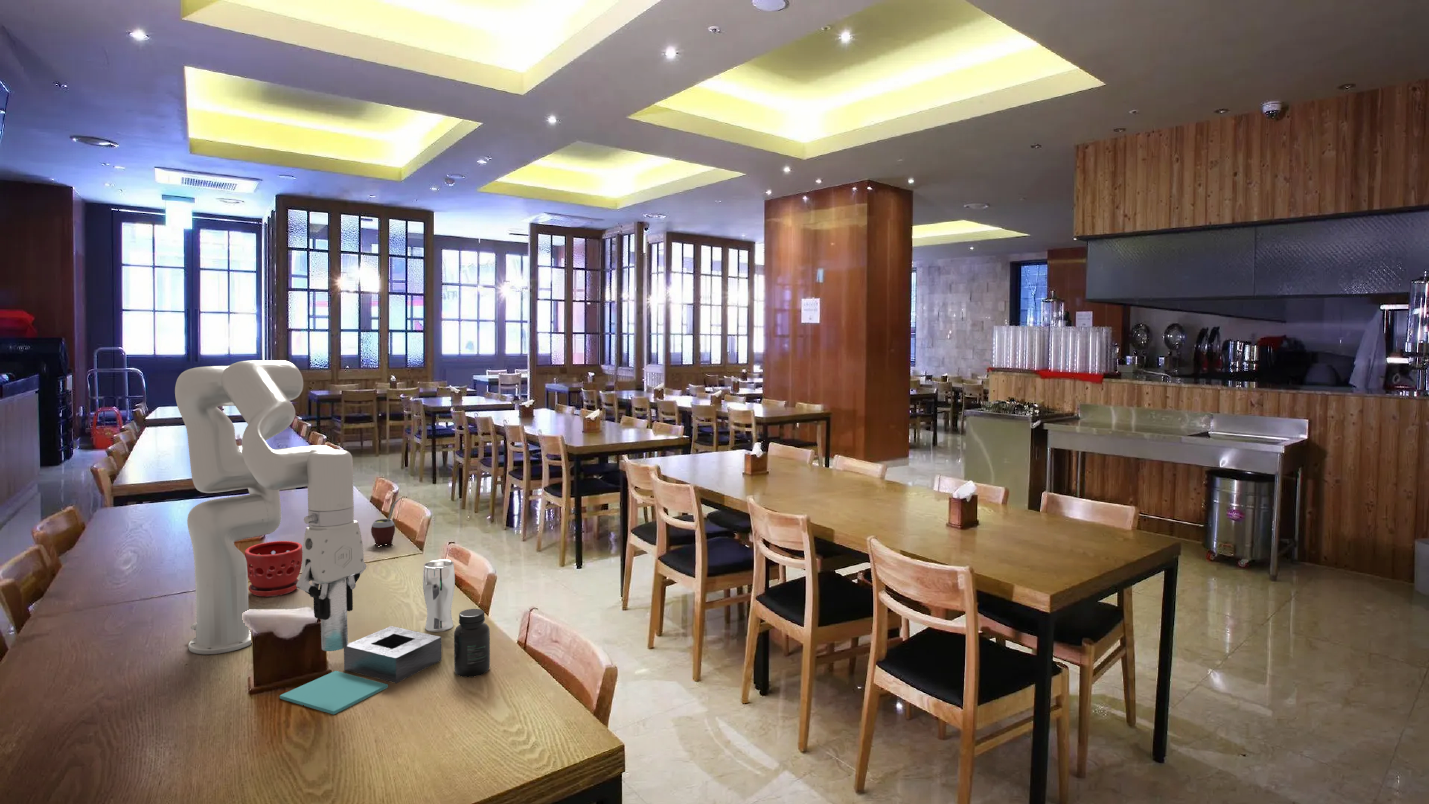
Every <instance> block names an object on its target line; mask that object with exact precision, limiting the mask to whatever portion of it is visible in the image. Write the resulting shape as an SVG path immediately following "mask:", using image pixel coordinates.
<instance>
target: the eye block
mask: <svg viewBox="0 0 1429 804" xmlns="http://www.w3.org/2000/svg"><path fill="white" fill-rule="evenodd" d="M442 654H443V653H442V636H439V635H433V634H430V633H424V632H420V631H415V630H410V629H408V628H407V629H406V628H402V627H398V626H393V625H390V626H387V627H385V628H383V629H380V630H378V631H376V632H373V633H371V634H368V635H365V636H364V637H361V638H359V639H356V640H353V641H352V642H348V646H347V647H345V648H343V669H344V671H347V672H351V673H355V674H360V675H363V676H367V677H371V678H374V679H378V680H381V681H386V682H389V683H394V684H398V683H400V682H402V681H404V680H406V679H408V678H410V677H412V676H413V675H416V674H417V673H419V672H422V671H423V670H425V669H427V668H429V667H431V666H432V667H433V666H434V665H436V664H439V661H440V662H442V657H443V656H442Z"/></svg>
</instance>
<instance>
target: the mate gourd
mask: <svg viewBox="0 0 1429 804" xmlns="http://www.w3.org/2000/svg"><path fill="white" fill-rule="evenodd" d="M401 499H402V497H399V498H398V499H396V500H395V501H394V502H393V504H392V505H391V509H390V510H389V511H390V512H389V515H388V518H381V519H377V520H374V521H373V522H372V524H371V528H370V533H371V536H372V539H373V540H374V543H376V544H378V545H377V546H380V545H384V544H387V545H393V540H394V535H395V533H396V526H395V522H394V521H393V520H392V519H391V517H392V513H393V512H394V511H393V509H394V508H395V505H396V504H397V503H398V502H399V501H400V500H401Z"/></svg>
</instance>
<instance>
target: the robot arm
mask: <svg viewBox="0 0 1429 804" xmlns="http://www.w3.org/2000/svg"><path fill="white" fill-rule="evenodd" d="M303 389H304V378H303V375H302V372H301V371H300V370H299V367H297V366H296V365H295V364H294V363H292V362H290V361H288V360H281V359H280V360H278V359H277V360H274V359H271V360H267V359H266V360H265V359H264V360H263V359H262V360H241V361H237V362H235V363H231V364H230V365H212V366H211V365H210V366H198V367H193V368H192V367H191V368H189V369H186V370H184V371H183V372H181V373H180V374H179V376H178V377H177V379H176V382H175V387H174V394H175V401H176V405H177V409H178V412H179V413H180V416H181V418H182V421H183V423H184V426H185V429H186V434H187V445H188V455H189V464H190V473H191V479H192V483H193V486H194V487H195V489H196V490H197V491H199V492H200V493H205V494H213V493H223V492H231V491H238V490H245V489H247V490H248V493H249V494H243V495H238V496H235V495H234V496H226V497H221V498H215V499H211V500H210V499H209V500H206V501H202V502H200V503H198V504H196V505H195V506H193V507H192V508H191V510H190V511H189V513H188V515H187V519H186V521H187V529H188V533H189V537H190V541H191V546H192V553H193V562H194V563H193V564H194V566H193V567H194V583H195V585H194V586H195V610H196V611H195V612H196V614H195V615H196V616H195V617H196V622H194V623H192V624H191V625H190V629H191V630H192V631H195V637H194V638H192V639H191V640H190V641H189V642H188V644H187V646H188V647H187V648H188V651H189V652H191V653H192V654H198V655H216V654H223V653H230V652H234V651H237V650H241V649H244V648H246V647H249V646H251V645H252V644H251V632H250V630H249V629H250V628H249V629H248V627H247V626H245V623H243V620H242V613H243V612H245V611H247V610H249V608H250V607H249V579H248V571H247V560H246V558H245V553H243V552H242V551H241V550H240V549H239V548H238V547H236V545H235V542H239V541H242V540H249V539H252V538H258V537H262V536H267V535H270V534H272V533H275V532H276V531H277V530H278V529H279V527H280V524H281V522H282V508H281V507H282V505H281V495H280V494H281V492H280V491H282V490H290V489H296V488H302V487H307V511H308V513H307V516H304V517H303V523H305V524H307V525H308V526H307V527H306V528H305V532H304V537H303V545H302V551H303V555H302V566H301V569H302V571H301V572H302V573H301V575H300V577H299V578H298V582H297V584H296V587H297V588H296V589H299V590H301V591H304V592H305V593H307V595H309V596H310V598H313V615H314V618H315V619H319V620H321V619H323V620H327V619H329V598H326V593H327V587H328V583H330V582H333V581H336V580H340V579H343V578H346V585H347V612H351V611H353V610H354V605H353V604H354V602H353V601H354V600H353V597H354V595H353V594H354V593H353V590H355V588H356V587H357V586H356V583H357V582H358V580H359V578H360V577H361V575H362V574H363V573H364V572H365V570H367V567H368V566H367V564H366V563H365V558H364V555H365V554H364V544H363V538H362V533H361V528H360V525H359V522H358V520H355V512H354V511H355V509H354V507H355V505H354V501H355V500H354V471H353V470H354V468H353V466H354V465H353V463H354V461H353V455H352V454H351V452H350V451H348V450H345V449H335V448H333V447H331V446H329V445H326V444H325V445H324V444H322V445H321V444H317V445H315V444H313V445H307V446H303V445H302V446H294V447H283V448H276V449H274V448H272V447H271V446H270V445H269V444H268V443H267V440H269V439H271V438H273V437H275V436H277V435H279V434H280V433H283V432H284V431H285V430H286V429H287V428H289V427H290V425H292V423H293V421H294V420H295V416H296V409H295V407H294V405H293V403H292V402H291V401H293V400H295V399H297V398H298V397H300V395H301V394H302V392H303ZM234 406H235V408H236V409H237V411H238V412H239V413H240V415H241V417H242V418H243V419H244V421H245V422H246V424H247V426H246V427H245V430H244V431H243V434H242V438H241V445H237V441H236V430H235V426H234V425H235V424H234V423H233V422H232V420H231V419H230V418H229V416H228V415H227V414H226V413H225V412H224V411H222V410H221V409H220V408H219V407H234ZM310 582H311V583H310ZM320 584H321V585H320Z"/></svg>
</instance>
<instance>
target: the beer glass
mask: <svg viewBox="0 0 1429 804" xmlns="http://www.w3.org/2000/svg"><path fill="white" fill-rule="evenodd" d="M455 587H456V574H455V563H454V561H452V560H450V559H436V560H430V561H427V562H425V563H424V564H423V573H422V589H423V590H422V591H423V596H424V601H425V605H426V606H425V608H426V622H425V630H426V631H427V632H431V633H440V632H441V633H442V632H445V631H449V630H451V629H452V628H453V627H454V621H453V620H454V619H453V617H452V607H453V601H454V600H453V599H454V596H455V595H454V593H455V589H456V588H455Z"/></svg>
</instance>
